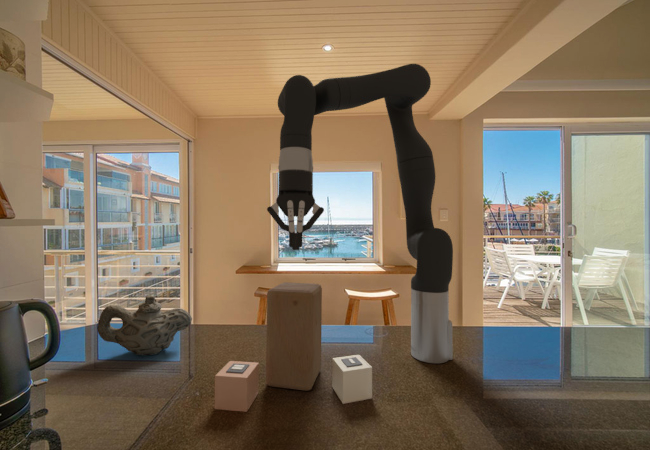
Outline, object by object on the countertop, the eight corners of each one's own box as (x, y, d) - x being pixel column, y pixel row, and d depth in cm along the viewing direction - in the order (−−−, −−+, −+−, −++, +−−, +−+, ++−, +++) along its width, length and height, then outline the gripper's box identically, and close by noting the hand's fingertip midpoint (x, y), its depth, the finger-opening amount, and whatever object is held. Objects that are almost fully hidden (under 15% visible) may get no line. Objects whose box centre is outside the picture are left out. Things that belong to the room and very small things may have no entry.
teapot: (191, 339, 85) (192, 288, 85) (191, 354, 75) (193, 295, 75) (102, 351, 76) (103, 294, 76) (88, 370, 65) (90, 304, 66)
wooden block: (311, 393, 57) (312, 291, 57) (264, 387, 59) (265, 289, 59) (322, 369, 67) (322, 283, 67) (281, 365, 69) (282, 281, 69)
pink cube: (258, 393, 57) (258, 360, 57) (246, 412, 51) (247, 375, 51) (229, 391, 58) (230, 359, 58) (214, 409, 52) (215, 373, 52)
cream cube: (358, 383, 61) (359, 353, 61) (372, 398, 55) (372, 365, 56) (332, 387, 59) (332, 356, 59) (342, 404, 54) (343, 369, 54)
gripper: (323, 175, 68) (322, 248, 68) (266, 174, 67) (266, 249, 66) (327, 168, 61) (327, 250, 61) (264, 166, 59) (263, 251, 59)
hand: (295, 249), depth 63 cm, fingers closed
